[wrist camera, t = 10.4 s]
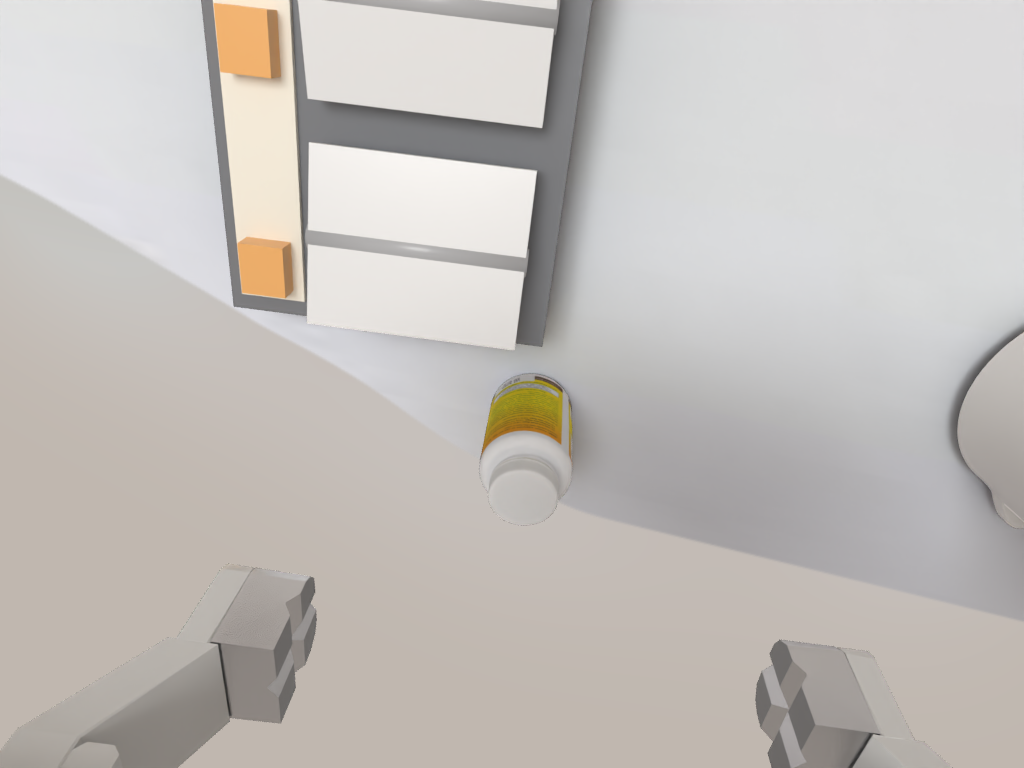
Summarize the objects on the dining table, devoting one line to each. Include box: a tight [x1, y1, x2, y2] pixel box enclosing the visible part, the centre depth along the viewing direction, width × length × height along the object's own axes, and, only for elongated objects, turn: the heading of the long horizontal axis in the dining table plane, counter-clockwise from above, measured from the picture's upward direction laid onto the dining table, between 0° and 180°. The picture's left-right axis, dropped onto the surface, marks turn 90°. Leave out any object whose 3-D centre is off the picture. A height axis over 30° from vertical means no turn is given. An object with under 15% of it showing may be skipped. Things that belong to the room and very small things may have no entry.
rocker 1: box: [297, 0, 560, 128], centre depth 28 cm, size 11×9×1 cm
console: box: [201, 0, 592, 347], centre depth 34 cm, size 18×22×6 cm
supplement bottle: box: [479, 374, 573, 526], centre depth 41 cm, size 6×6×10 cm
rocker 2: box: [305, 142, 537, 350], centre depth 33 cm, size 11×9×1 cm
